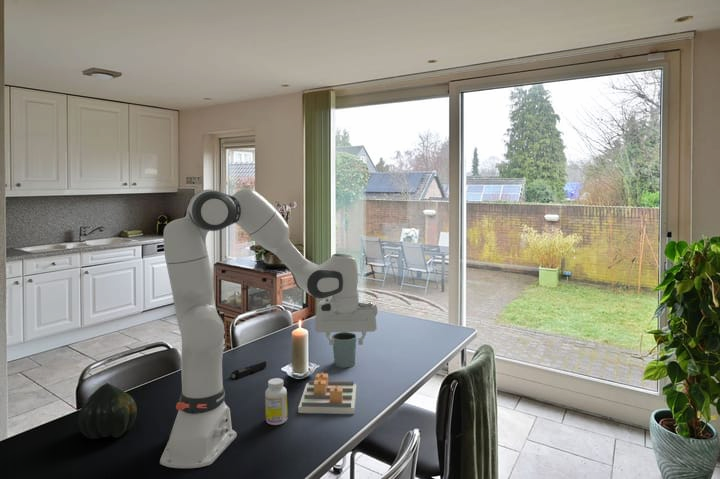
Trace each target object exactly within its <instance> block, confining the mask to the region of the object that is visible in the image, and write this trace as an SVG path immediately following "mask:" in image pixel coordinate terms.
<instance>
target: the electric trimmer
mask: <svg viewBox="0 0 720 479" xmlns="http://www.w3.org/2000/svg"><path fill="white" fill-rule="evenodd" d="M266 367H267V361H265V360H264V361H261V362H258V363H256V364H252V365H249V366H247V367H244V368H240V369H236V370H234V371H232V373H231V374H230V379H231V380H233V381H235V380H236V381H237V380H238V379H239V378H242V377H244V376H247V375H250V374H255V373H257V372H259V371H261V370H263V369H265V368H266Z"/></svg>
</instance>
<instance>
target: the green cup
mask: <svg viewBox="0 0 720 479" xmlns="http://www.w3.org/2000/svg"><path fill="white" fill-rule="evenodd" d="M331 338H334V345H332V348H333V349H332V350H333V352H332V353H333V359H334V361H333V362H334V365H335V367H338V368H342V369H343V368H345V369H347V367H348V368H352V367H354V366H355V364H356V350H357V339H358V338H357V334H356V333H355V332H335V333H334V334H332V335H331Z"/></svg>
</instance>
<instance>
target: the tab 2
mask: <svg viewBox="0 0 720 479" xmlns="http://www.w3.org/2000/svg"><path fill="white" fill-rule="evenodd" d="M313 381H314V395H326V393H327V386H326V380H322V379H319V380H316V379H314V380H313Z"/></svg>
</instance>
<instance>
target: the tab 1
mask: <svg viewBox="0 0 720 479" xmlns="http://www.w3.org/2000/svg"><path fill="white" fill-rule="evenodd" d="M319 379H322V380H326V386H327V388H328V381H329V373H324V372H323V371H322V372H321V373H316V374H315V380H319Z"/></svg>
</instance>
